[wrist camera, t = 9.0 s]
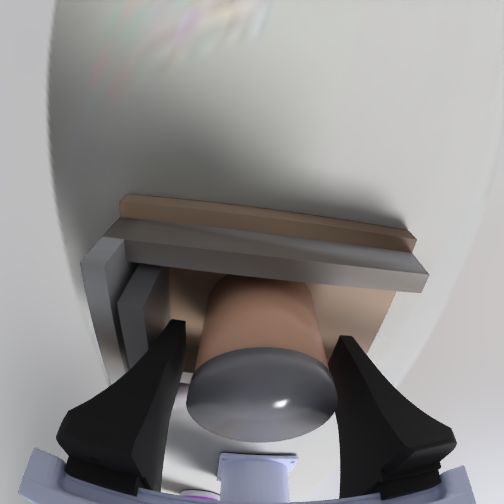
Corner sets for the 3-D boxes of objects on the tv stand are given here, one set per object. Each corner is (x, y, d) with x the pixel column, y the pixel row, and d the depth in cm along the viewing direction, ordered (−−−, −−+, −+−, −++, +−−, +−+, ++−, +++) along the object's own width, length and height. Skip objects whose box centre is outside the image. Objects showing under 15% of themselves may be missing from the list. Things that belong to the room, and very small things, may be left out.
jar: (298, 353, 17) (309, 444, 12) (200, 340, 17) (184, 433, 11) (329, 273, 14) (362, 371, 9) (211, 254, 14) (189, 354, 9)
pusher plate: (171, 343, 16) (156, 400, 13) (154, 340, 16) (136, 396, 13) (169, 251, 14) (143, 307, 10) (148, 248, 14) (117, 302, 10)
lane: (351, 364, 19) (368, 425, 15) (140, 344, 18) (118, 407, 14) (408, 230, 14) (457, 286, 10) (127, 194, 14) (77, 243, 9)
